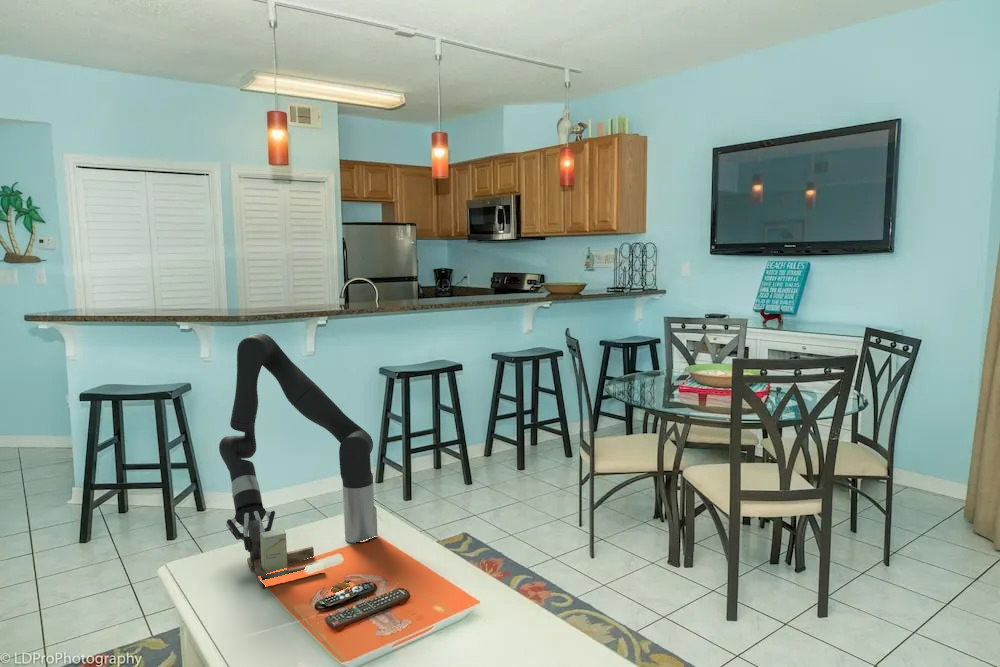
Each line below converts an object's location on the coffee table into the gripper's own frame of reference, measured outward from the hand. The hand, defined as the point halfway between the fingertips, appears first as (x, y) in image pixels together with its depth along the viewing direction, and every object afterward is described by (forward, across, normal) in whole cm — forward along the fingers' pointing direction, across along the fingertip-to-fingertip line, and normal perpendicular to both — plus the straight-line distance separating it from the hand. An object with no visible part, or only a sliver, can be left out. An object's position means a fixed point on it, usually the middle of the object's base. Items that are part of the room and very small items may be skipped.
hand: (256, 549), depth 182 cm
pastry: (+25, +15, -17) cm, 34 cm away
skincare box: (+10, +3, -2) cm, 10 cm away
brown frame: (+7, +6, 0) cm, 10 cm away
